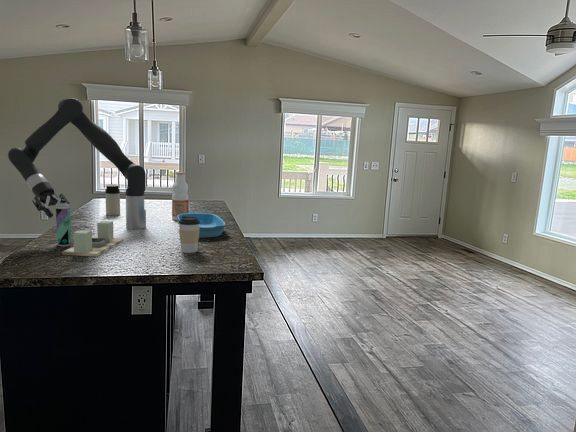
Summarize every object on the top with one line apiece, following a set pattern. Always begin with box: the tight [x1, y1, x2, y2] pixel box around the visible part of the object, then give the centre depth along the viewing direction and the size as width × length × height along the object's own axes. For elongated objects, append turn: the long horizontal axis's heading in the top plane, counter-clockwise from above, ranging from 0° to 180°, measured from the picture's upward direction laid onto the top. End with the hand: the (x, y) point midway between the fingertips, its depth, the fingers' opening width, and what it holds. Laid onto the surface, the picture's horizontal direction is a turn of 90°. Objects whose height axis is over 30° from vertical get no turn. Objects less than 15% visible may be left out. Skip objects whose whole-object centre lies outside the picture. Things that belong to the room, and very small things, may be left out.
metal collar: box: [92, 237, 109, 248], centre depth 184 cm, size 9×9×2 cm
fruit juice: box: [171, 171, 189, 222], centre depth 250 cm, size 9×9×28 cm
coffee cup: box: [178, 216, 200, 254], centre depth 185 cm, size 9×9×15 cm
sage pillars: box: [72, 220, 114, 253], centre depth 183 cm, size 25×5×8 cm, turn 178°
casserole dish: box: [177, 212, 226, 239], centre depth 224 cm, size 37×22×7 cm, turn 21°
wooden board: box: [62, 236, 125, 258], centre depth 184 cm, size 26×14×1 cm, turn 178°
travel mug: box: [105, 183, 121, 217], centre depth 255 cm, size 8×8×18 cm
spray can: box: [55, 199, 73, 247], centre depth 184 cm, size 6×6×20 cm
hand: (60, 215), depth 184 cm, fingers open, 8 cm apart
